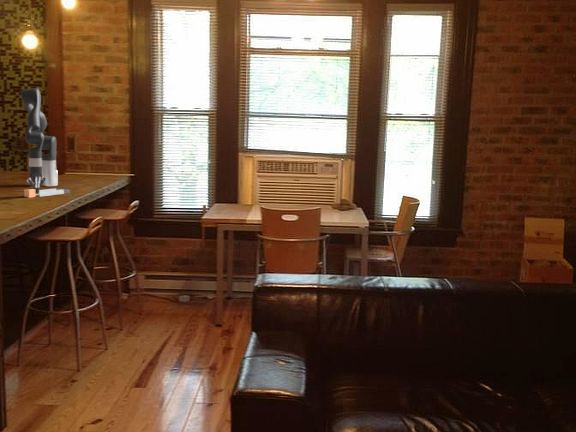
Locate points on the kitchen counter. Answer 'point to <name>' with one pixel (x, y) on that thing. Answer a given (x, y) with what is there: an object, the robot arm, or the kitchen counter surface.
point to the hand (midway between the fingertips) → (36, 193)
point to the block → (29, 193)
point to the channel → (50, 192)
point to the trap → (64, 190)
